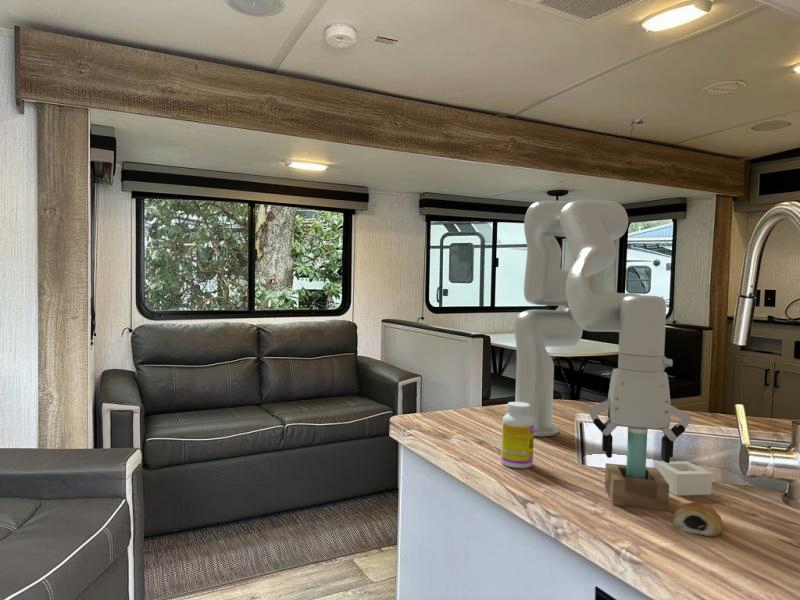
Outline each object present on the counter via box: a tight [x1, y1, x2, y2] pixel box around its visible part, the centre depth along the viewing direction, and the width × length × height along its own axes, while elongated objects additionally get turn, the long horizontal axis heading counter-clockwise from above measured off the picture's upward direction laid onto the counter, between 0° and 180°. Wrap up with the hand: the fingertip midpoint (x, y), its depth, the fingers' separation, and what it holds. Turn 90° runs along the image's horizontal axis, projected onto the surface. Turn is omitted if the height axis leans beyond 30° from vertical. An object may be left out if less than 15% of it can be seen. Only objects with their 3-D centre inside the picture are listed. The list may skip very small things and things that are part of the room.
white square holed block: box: [654, 460, 713, 497], centre depth 106 cm, size 7×7×4 cm
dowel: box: [626, 427, 649, 479], centre depth 100 cm, size 3×3×14 cm
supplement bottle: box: [500, 401, 535, 469], centre depth 117 cm, size 7×7×13 cm
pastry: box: [672, 502, 723, 537], centre depth 90 cm, size 9×7×4 cm
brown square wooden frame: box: [604, 463, 670, 512], centre depth 100 cm, size 9×9×4 cm
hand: (636, 458), depth 100 cm, fingers open, 9 cm apart
